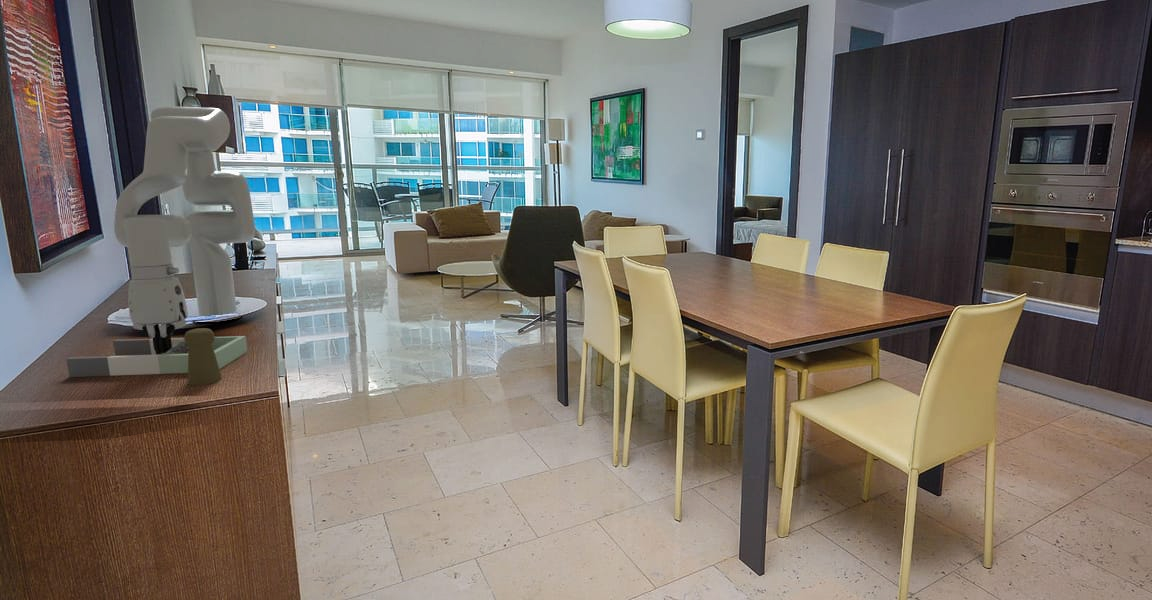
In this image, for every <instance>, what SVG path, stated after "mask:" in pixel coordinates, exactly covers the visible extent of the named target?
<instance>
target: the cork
mask: <svg viewBox="0 0 1152 600" xmlns="http://www.w3.org/2000/svg"><path fill="white" fill-rule="evenodd" d="M214 337H215V334H214V331H213V330H212V329H210V328H206V327H205V328H204V327H201V328H200V327H199V328H193V329H189V330H187V331H186V332H185V334H184V336H183V338H184V341H185V343H186V345H188V346H189V351H188V373H187V384H188V385H189V386H206V385H210V384H214V383H218V382H219V381H220V382H221V380H222V379H223V377H222V373H221V371H220V370H221V369H219V366H218V363H217V359H216V356H215V352H214V349H213V345H212V343H213V341H214Z"/></svg>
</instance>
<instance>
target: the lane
mask: <svg viewBox="0 0 1152 600" xmlns="http://www.w3.org/2000/svg"><path fill="white" fill-rule="evenodd" d="M179 342H185V341H184V337H171V343H172V347H173V348H174V347H175V346H177V345H178V344H179ZM112 343H113V344H112V345H113V350H114V354H115V355H102V356H97V355H96V356H78V357H77V356H70V357H68V358H66V365H67V370H68V376H69V378H79V377H81V378H83V377H85V378H86V377H106V376H108V377H109V376H132V375H133V376H135V375H136V376H137V375H138V376H139V375H163V374H166V375H167V374H188V354H158V355H156V352H155V350H154V346H153V339H152V338H136V339H135V338H132V339H131V338H129V339H127V338H126V339H115V340H112ZM212 345H213V349H214V352H215V356H216V359H217V363H218V366H219V370H221V369H222V368H224V367H226V366H227V365H229V364H230V363H232V362H233V361H235V360H237V359H238V358H240V357H241V356H243V355H245V354H246V353H247V352H248V344H247V336H246V335H234V336H233V335H231V336H229V335H228V336H214V341H213V343H212Z"/></svg>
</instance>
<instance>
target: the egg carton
mask: <svg viewBox="0 0 1152 600" xmlns="http://www.w3.org/2000/svg"><path fill="white" fill-rule="evenodd" d="M188 351H189V346H188V345H186V343H185V342H179V344H178V345H177V346H175V347H174V348H173V347H172V348H171V349H170V350H169V351H167V352H166V353H162V354H188Z"/></svg>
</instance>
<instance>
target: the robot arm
mask: <svg viewBox="0 0 1152 600" xmlns="http://www.w3.org/2000/svg"><path fill="white" fill-rule="evenodd" d="M230 133H231V124H230V120H229V117H228V116H227V113H226V112H224V111H223V110H222V109H220V108H216V107H195V106H194V107H192V106H160V107H156V108H154V109H153V110H152V111H151V113H150V121H149V123H148V125H147V128H146V137H145V139H146V140H145V150H144V151H145V152H144V161H143V171H142V173H140V174H139V175H138V176H137V177H135V178H134V179H133V180H132V181H130V183H129V184H128V185H127V186H126V187H125V188H124V189H123V191H122V192H121V193H120V194H119V196H118V199H117V201H116V206H115V211H114V212H115V213H114V222H113V223H114V224H113V225H114V226H113V229H114V235H115V238H116V240H117V242H118V243H119V244H120V246H123V247H125V248H127V252H128V253H127V255H128V260H129V266H130V275H131V280H129V282H128V290H127V291H128V294H127V297H128V298H127V299H128V301H127V303H128V313H129V318H130V321H131V322H132V328H133V329H134V330H140V331H144V332H145V333H146V334H148V336H149V338H150V339H153V346H154V350H155V352H156V355H158V354H162V353H166V352H167V351H169V350H170V349H171V348H172V343H171V338H172V337H171V336H172V335H173V333H175V331H176V330H177V329H180V328H181V329H182V328H183V327H187V325H188V324H187V321H186V319H188V317H189V314H188V313H189V312H188V306H187V300H186V297H185V292H184V290H183V287H182V284H181V282H180V279H179V277H175V274H179V271H180V270H179V268H178V267H175V266H174V264H173V260H172V255H171V248H179V247H183V246H185V245H186V244H188V246H189V250H190V256H191V262H192V271H193V279H194V287H195V294H196V302H197V303H196V304H197V310H198V315H199V316H211V315H223V314H229V313H234V312H235V311H236V310H237V311H238V309H237V307H236V305H238V304H240V305H241V302H240V300H237V299H236V291H235V284H234V283H235V282H234V276H233V275H234V274H233V267H232V265H233V264H232V260H231V257H230V255H229V253H228V252H227V251H226V250H225V249H224V248H223V247H222V246H221V245H222V244H243V243H250V242H251V241H253V240H254V238H255V236H256V226H255V225H256V224H255V217H254V211H253V203H252V199H251V193H250V192H251V191H250V187H249V184H248V181H247V179H246V177H245V176H244V174H242V173H240V172H238V171H235V170H234V171H231V170H225V171H224V170H223V171H222V170H217V168H216V165H215V160H214V153H213V152H216V151H218V149H220V147H221V146H222V145H223V144H225V142H226V141H227V140H228V139H229V136H230ZM181 186H182V191H183V194H184V198H185V200H186V201H187V202H188V203H189V204H190V205H194V206H201V207H202V206H203V207H206V206H211V207H212V206H214V207H215V206H217V207H218V206H221V207H222V206H228V207H230V209H202V210H201V209H200V210H193V211H190V212H188V213H187V214H186V215H185V216H184V217H182V215H176V214H138V212H139V210H140V209H141V207H142V206H143V205H144V204H145V203H147V202H148V201H149V200H151V199H152V198H155V197H157V196H160V195H162V194H165V193H167V192H169V191H172V190H174V189H176V188H178V187H179V188H180V187H181ZM220 244H221V245H220Z"/></svg>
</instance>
